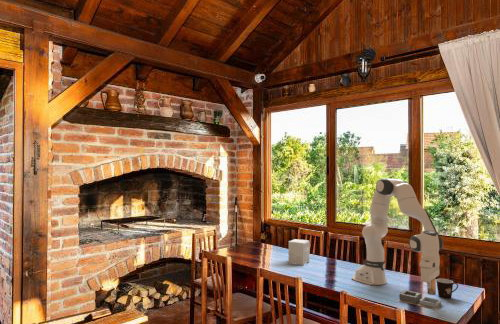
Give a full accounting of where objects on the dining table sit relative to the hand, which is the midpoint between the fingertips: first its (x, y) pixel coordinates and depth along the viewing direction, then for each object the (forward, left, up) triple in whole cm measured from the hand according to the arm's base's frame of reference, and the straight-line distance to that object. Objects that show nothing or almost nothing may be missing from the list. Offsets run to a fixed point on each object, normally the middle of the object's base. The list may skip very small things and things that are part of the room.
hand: (431, 287), depth 194 cm
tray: (0, 0, -10) cm, 10 cm away
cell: (0, 0, -4) cm, 4 cm away
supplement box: (-107, +28, -11) cm, 111 cm away
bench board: (-6, 0, -11) cm, 12 cm away
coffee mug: (+3, +20, -11) cm, 23 cm away
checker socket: (-11, 0, -10) cm, 14 cm away
